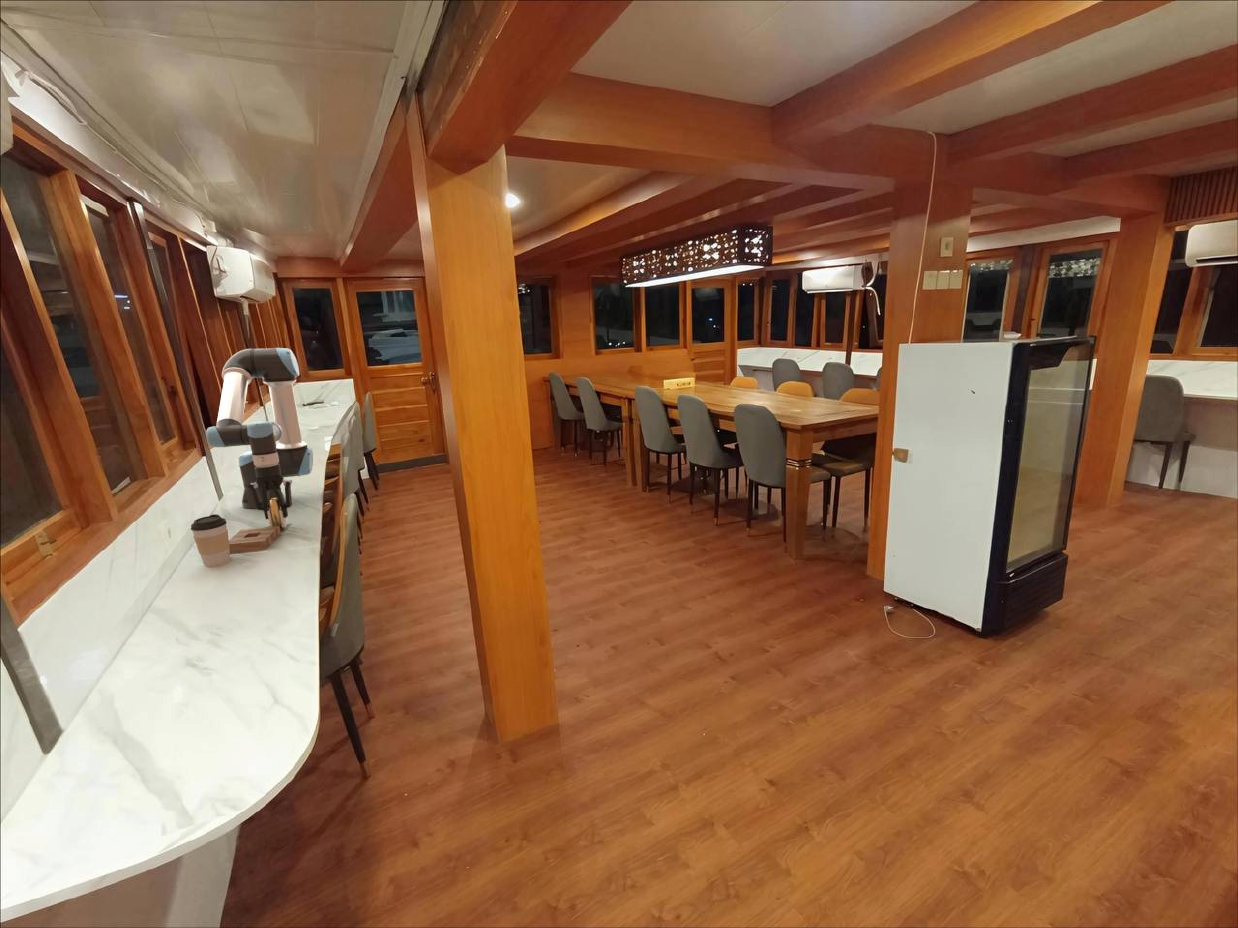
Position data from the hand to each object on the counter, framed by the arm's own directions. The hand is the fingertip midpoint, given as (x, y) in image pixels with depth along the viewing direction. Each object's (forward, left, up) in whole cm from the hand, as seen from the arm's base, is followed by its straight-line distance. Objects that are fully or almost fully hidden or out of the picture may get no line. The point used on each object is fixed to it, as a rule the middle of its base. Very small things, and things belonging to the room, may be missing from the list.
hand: (278, 526), depth 194 cm
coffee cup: (+25, -10, -2) cm, 27 cm away
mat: (-1, -1, -2) cm, 3 cm away
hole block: (+12, -4, -2) cm, 13 cm away
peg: (0, 0, -1) cm, 1 cm away
